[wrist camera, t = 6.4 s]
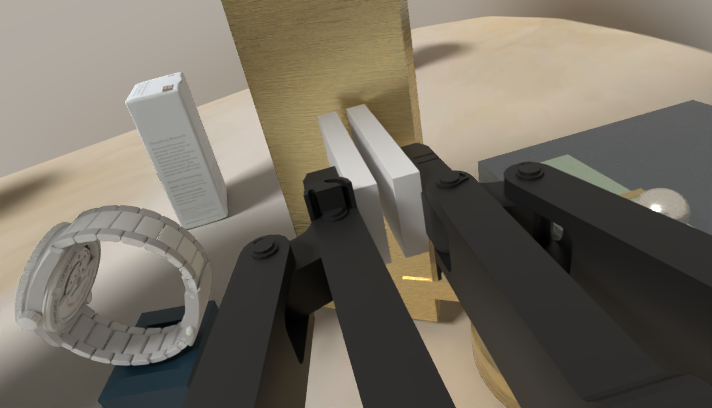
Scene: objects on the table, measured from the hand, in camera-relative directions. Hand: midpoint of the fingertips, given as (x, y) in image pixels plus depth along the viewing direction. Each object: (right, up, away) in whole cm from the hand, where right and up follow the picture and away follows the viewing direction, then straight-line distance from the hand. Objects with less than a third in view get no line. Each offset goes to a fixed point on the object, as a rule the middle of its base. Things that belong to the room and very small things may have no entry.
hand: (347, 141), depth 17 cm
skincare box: (-14, -3, +23) cm, 27 cm away
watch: (-9, -13, +6) cm, 17 cm away
